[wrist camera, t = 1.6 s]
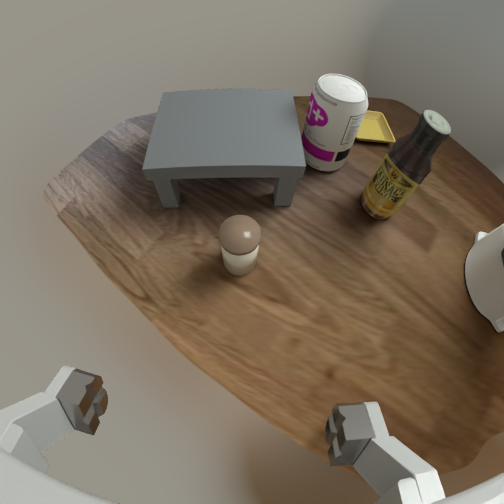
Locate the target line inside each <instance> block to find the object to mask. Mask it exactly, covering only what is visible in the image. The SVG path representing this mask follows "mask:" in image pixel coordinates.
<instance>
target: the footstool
mask: <svg viewBox="0 0 504 504" xmlns="http://www.w3.org/2000/svg"><path fill="white" fill-rule="evenodd" d="M305 168H306V163H305V157H304V151H303V146H302V140H301V134H300V129H299V124H298V118H297V113H296V108H295V103H294V98H293V94H292V90H282V89H206V90H190V91H177V92H166V93H163V95H162V98H161V101H160V105H159V108H158V111H157V115H156V118H155V122H154V125H153V129H152V132H151V136H150V140H149V144H148V148H147V152H146V156H145V160H144V164H143V168H142V170H143V173H144V175H145V177H146V180H147V181H153V183H154V186H155V188H156V191H157V193H158V196H159V198H160V200H161V203H162V205H163V208H171V207H179V202H180V191H179V188H178V184H177V181H176V179H193V178H237V177H267V178H276V180H275V186H274V192H273V194H274V206H291V202H292V198H293V194H294V190H295V187H296V183H297V179H298V178H303V176H304V172H305Z"/></svg>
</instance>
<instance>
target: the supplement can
mask: <svg viewBox="0 0 504 504" xmlns="http://www.w3.org/2000/svg"><path fill="white" fill-rule="evenodd" d="M367 108H368V99H367V91H366V90H365V88H364V87H363V86H362V85H361V84H360V83H359V82H357V81H356V80H354V79H352V78H350V77H347V76H344V75H340V74H326V75H323V76H322V77H320V78H319V81H317V82H316V83H315V84H314V85H313V88H312V93H311V97H310V102H309V107H308V111H307V116H306V120H305V125H304V129H303V134H302V138H301V140H302V146H303V151H304V157H305V162H306V163H307V164H309V165H310V166H311V167H313V168H315V169H318V170H321V171H334V170H338V169H339V168H341V167H342V166H343V165H344V163H345V161H346V159H347V157H348V154H349V152H350V150H351V147H352V145H353V142H354V140H355V138H356V135H357V133H358V130H359V128H360V125H361V123H362V120H363V118H364V115H365V113H366V110H367Z"/></svg>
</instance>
